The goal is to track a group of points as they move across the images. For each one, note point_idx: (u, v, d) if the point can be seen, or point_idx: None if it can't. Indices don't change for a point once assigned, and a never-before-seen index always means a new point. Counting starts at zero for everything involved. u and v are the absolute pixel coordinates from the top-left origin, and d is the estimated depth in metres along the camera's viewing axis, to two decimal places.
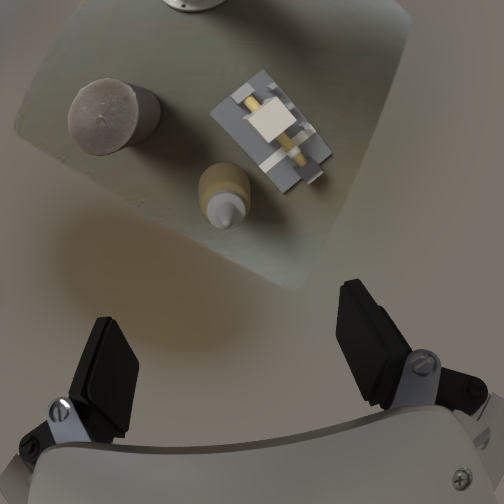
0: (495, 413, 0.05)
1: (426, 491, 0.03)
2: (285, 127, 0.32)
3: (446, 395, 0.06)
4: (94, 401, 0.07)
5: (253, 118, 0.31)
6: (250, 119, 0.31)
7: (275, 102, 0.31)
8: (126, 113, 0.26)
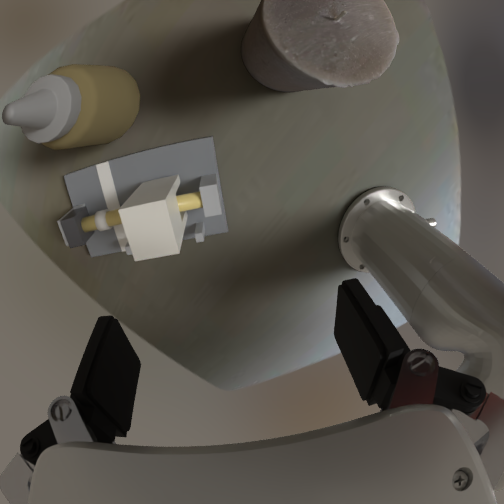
0: (493, 412, 0.05)
1: (426, 491, 0.03)
2: (130, 242, 0.21)
3: (444, 395, 0.06)
4: (96, 400, 0.07)
5: (163, 208, 0.20)
6: (163, 203, 0.20)
7: (171, 247, 0.22)
8: (307, 50, 0.13)
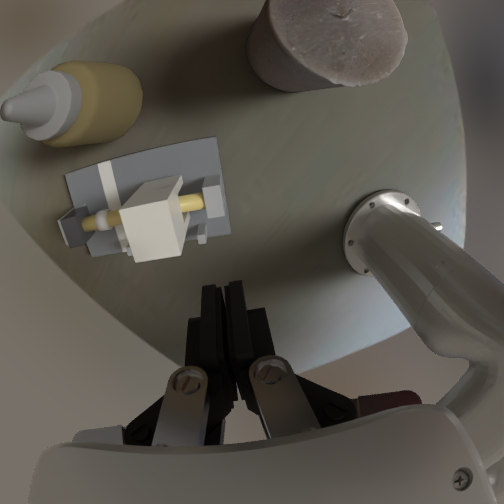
0: (376, 413, 0.06)
1: (426, 491, 0.03)
2: (131, 243, 0.21)
3: None
4: (225, 365, 0.08)
5: (164, 208, 0.20)
6: (165, 204, 0.20)
7: (172, 249, 0.21)
8: (314, 48, 0.13)
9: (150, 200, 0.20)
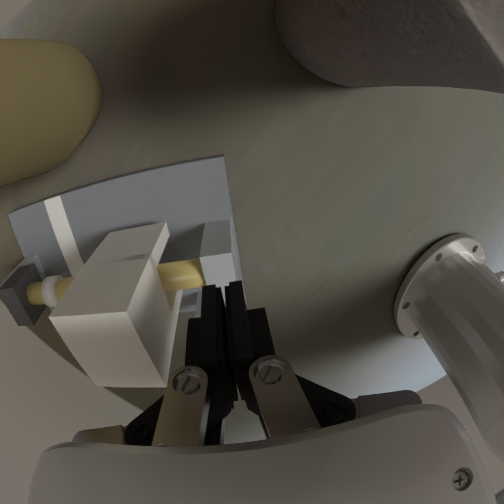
0: (376, 413, 0.06)
1: (426, 491, 0.03)
2: (82, 364, 0.10)
3: None
4: (225, 365, 0.08)
5: (124, 325, 0.09)
6: (124, 317, 0.09)
7: (151, 379, 0.11)
8: None
9: (99, 301, 0.10)
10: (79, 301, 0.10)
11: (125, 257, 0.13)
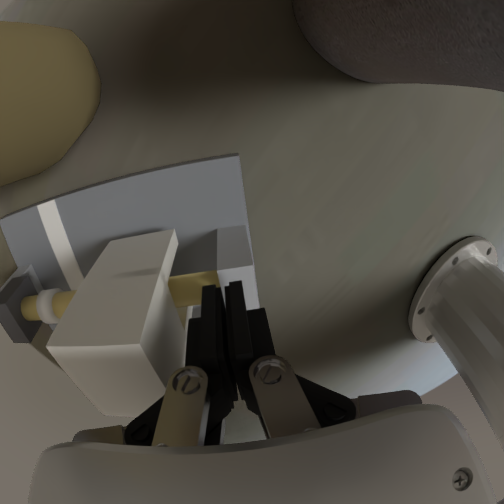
0: None
1: (426, 491, 0.03)
2: (87, 394, 0.09)
3: None
4: (225, 365, 0.08)
5: (137, 358, 0.08)
6: (137, 350, 0.08)
7: None
8: None
9: (105, 329, 0.08)
10: (80, 327, 0.08)
11: (131, 272, 0.11)
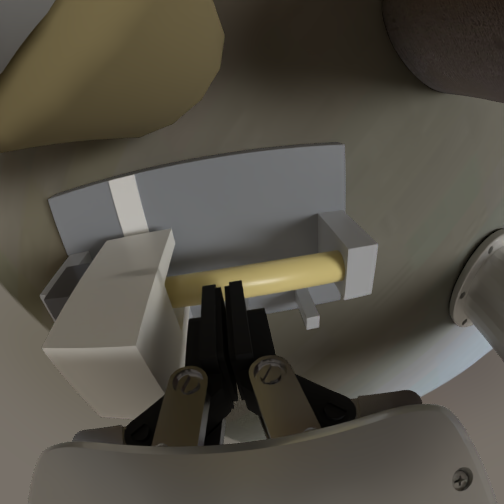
0: (376, 413, 0.06)
1: (426, 491, 0.03)
2: (84, 396, 0.09)
3: None
4: (225, 365, 0.08)
5: (133, 360, 0.08)
6: (133, 352, 0.07)
7: None
8: None
9: (100, 330, 0.08)
10: (76, 329, 0.08)
11: (127, 272, 0.11)
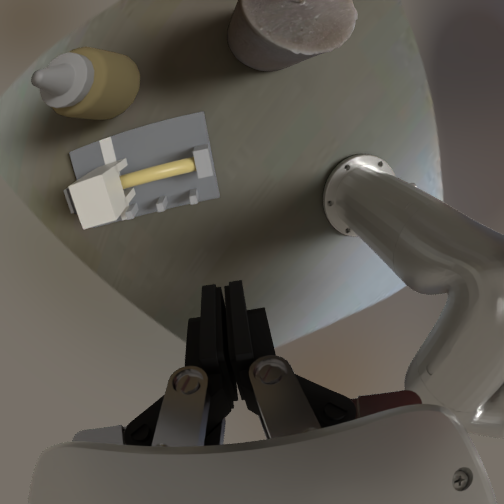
0: (376, 413, 0.06)
1: (426, 491, 0.03)
2: (78, 213, 0.23)
3: None
4: (225, 365, 0.08)
5: (100, 181, 0.22)
6: (101, 177, 0.22)
7: (109, 215, 0.24)
8: (278, 27, 0.15)
9: (91, 176, 0.23)
10: (82, 179, 0.23)
11: (104, 168, 0.26)
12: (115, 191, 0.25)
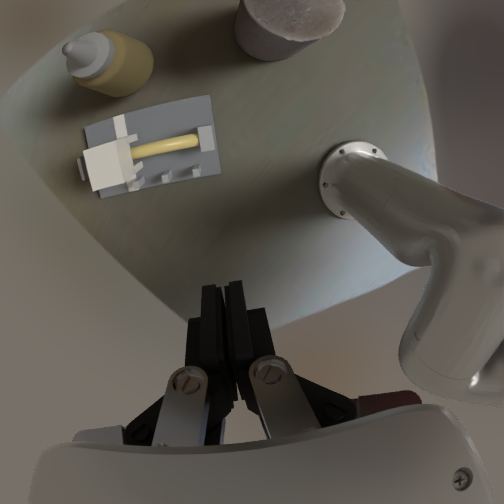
0: None
1: (426, 491, 0.03)
2: (90, 176, 0.26)
3: None
4: (225, 365, 0.08)
5: (113, 147, 0.25)
6: (113, 143, 0.24)
7: (118, 178, 0.26)
8: (273, 18, 0.18)
9: None
10: (96, 146, 0.25)
11: (116, 139, 0.28)
12: (125, 158, 0.27)
